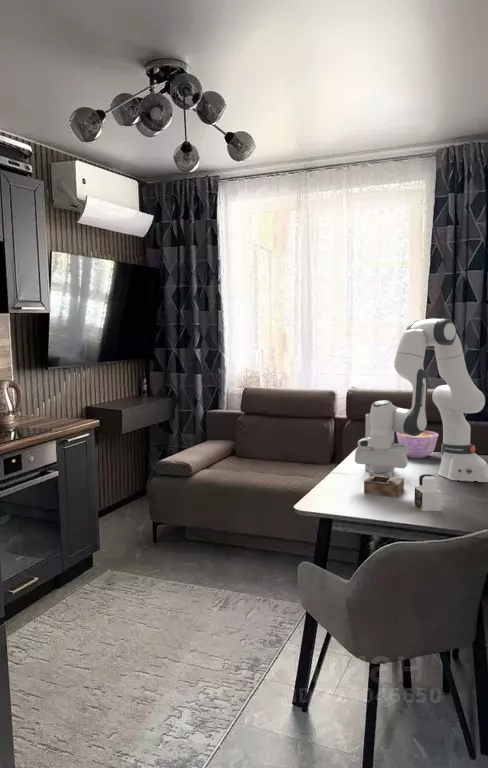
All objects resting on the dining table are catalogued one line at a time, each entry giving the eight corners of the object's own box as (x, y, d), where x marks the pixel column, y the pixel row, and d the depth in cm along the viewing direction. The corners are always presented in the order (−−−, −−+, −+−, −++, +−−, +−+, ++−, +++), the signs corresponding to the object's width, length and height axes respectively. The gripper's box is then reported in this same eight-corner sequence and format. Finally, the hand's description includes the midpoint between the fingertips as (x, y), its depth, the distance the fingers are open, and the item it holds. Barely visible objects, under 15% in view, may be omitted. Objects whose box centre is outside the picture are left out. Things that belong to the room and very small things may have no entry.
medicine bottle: (414, 505, 211) (414, 473, 210) (433, 505, 212) (433, 472, 211) (421, 511, 204) (422, 478, 203) (441, 511, 205) (442, 477, 204)
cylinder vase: (383, 465, 271) (384, 412, 268) (398, 472, 259) (400, 416, 256) (359, 468, 267) (360, 414, 264) (374, 474, 255) (375, 418, 253)
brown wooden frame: (403, 489, 232) (403, 478, 231) (397, 497, 222) (397, 485, 221) (371, 485, 237) (371, 474, 237) (363, 492, 228) (364, 481, 227)
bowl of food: (387, 453, 295) (388, 431, 294) (420, 450, 302) (421, 428, 301) (412, 462, 277) (412, 438, 276) (446, 458, 284) (447, 435, 283)
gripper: (409, 442, 226) (409, 477, 228) (358, 438, 236) (357, 472, 237) (406, 446, 221) (405, 481, 222) (353, 441, 230) (353, 475, 232)
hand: (380, 476), depth 230 cm, fingers open, 5 cm apart
